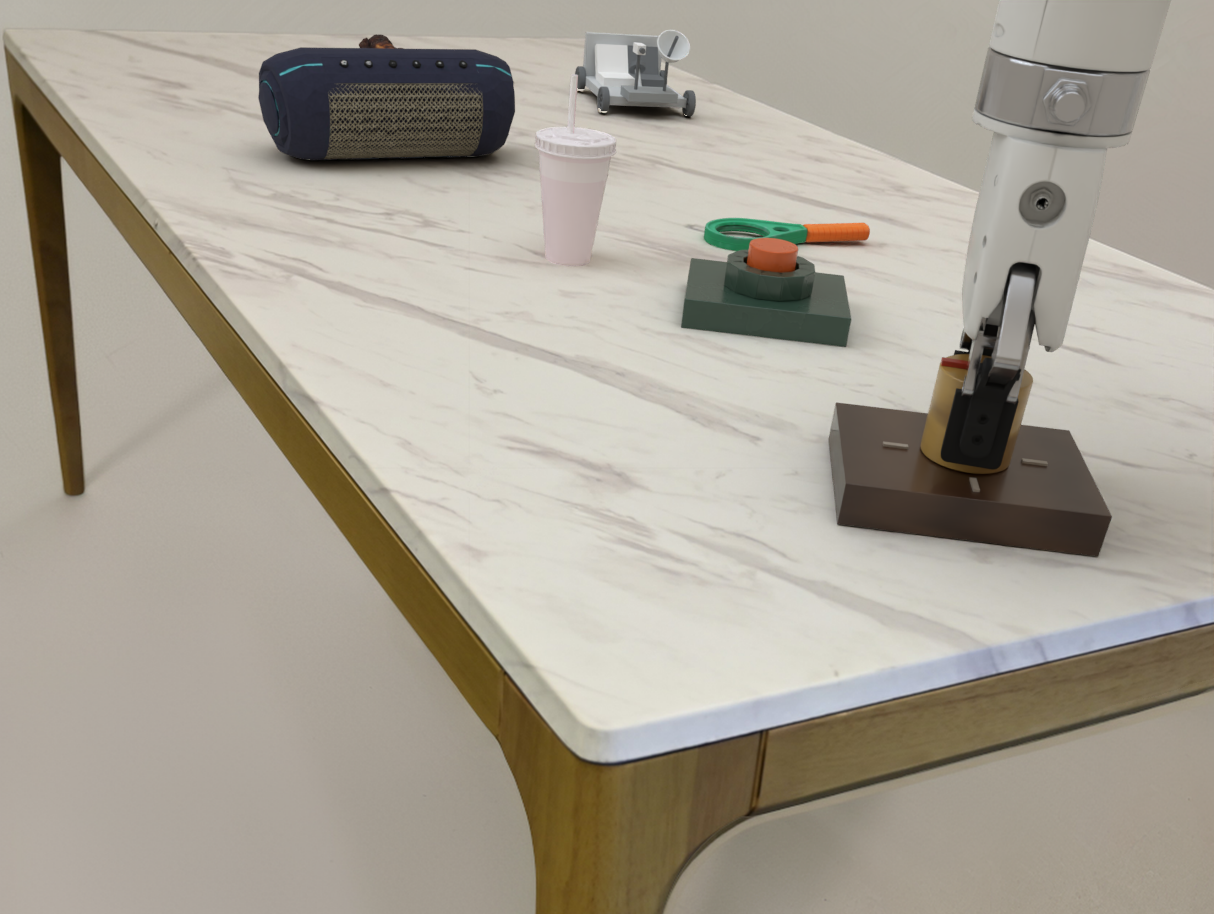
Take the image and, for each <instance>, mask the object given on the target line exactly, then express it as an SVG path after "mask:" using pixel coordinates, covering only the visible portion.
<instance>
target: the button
mask: <svg viewBox="0 0 1214 914" xmlns="http://www.w3.org/2000/svg"><path fill="white" fill-rule="evenodd" d="M756 238H757V239H753V240H751V241H750V244H749V251H748V258H747V265H749V266H750V267H753V268H756V269H760V270H763V271H771V272H779V273H781V272H793V271H795V266H796V260H797V256H798V254H799V246H798V245H797V244H793V243H791V242H788V241H785V240H781V239H775V238H758V237H756Z"/></svg>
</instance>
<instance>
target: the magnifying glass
mask: <svg viewBox="0 0 1214 914" xmlns="http://www.w3.org/2000/svg"><path fill="white" fill-rule="evenodd" d="M703 232H704V233H703V240H704V241H705V242H706V243H707V244H709V245H710V246H712V247H716V248H719V249H722V250H726V251H732V252H737V251H739V250H749V244H750V241H751V240H753V239H757V238H775V239H781V240H785V241H788V242H791V243H793V244H795V245H797V244H804V243H829V242H831V243H833V242H861V241H862V242H863V241H867V240H868V239H869V237H870V233H871V228H870V226H869V225H868V224H867V223H866V222H841V223H840V222H839V223H838V222H835V223H834V222H833V223H805V224H801V223H791V222H783V221H774V220H767V219H766V220H765V219H759V218H758V219H757V218H749V217H722V218H717V219H712V220H709V221H708V222H706V223H705V225H704V231H703ZM728 232H729V233H730V232H733V233H734V232H735V233H739V232H740V233H749V234H756V235H759V237H745V236H744V237H742V236H733V235H729V234H724V233H728Z"/></svg>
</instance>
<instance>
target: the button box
mask: <svg viewBox="0 0 1214 914" xmlns="http://www.w3.org/2000/svg"><path fill="white" fill-rule="evenodd" d="M748 251H749V250H739V251H733V252H731V253H729V254H728V255H727V259H726V261H722V260H713V259H705V258H696V257H691V258H690V263H689V269H688V275H687V281H686V287H685V293H684V300H683V308H682V316H681V324H680V327H681V329H689V330H698V331H706V332H713V333H723V334H732V335H739V336H748V337H755V338H756V337H757V338H764V339H774V340H782V341H790V342H799V343H807V344H815V345H824V346H825V345H826V346H833V347H841V348H846V347H847V344H848V338H849V333H850V330H851V329H850V328H851V324H852V314H851V309H850V308H851V307H850V303H849V297H848V291H847V286H846V285H847V284H846V280H845V276H844V275H843V274H842V275H841V274H835V273H834V274H833V273H824V272H818V271H817V272H816V266H815V264H814V263H812V262H811V261H810V260H809V259H808V260H807V259H806V258H804V257H803V256H799V255H797V260H796V266H795V271H793V272H781V273H779V272H771V271H763V270H760V269H756V268H753V267H750V266H749V265H747V258H748Z"/></svg>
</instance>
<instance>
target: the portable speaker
mask: <svg viewBox="0 0 1214 914" xmlns="http://www.w3.org/2000/svg"><path fill="white" fill-rule="evenodd" d="M257 99H258V103H259V107H260V112H261V115H262V120H263V123H264V124H265V127H266V129H267V131H268V133H269V136H270V137H271V139H272V141H273V143H274V144H275V147H276V149H277V150H278V151H279V152H280V153H282V154H285V155H286V156H287V155H288V156H289V157H292V158H294V157H296V158H295V159H297V158H301V159H300V160H304V159H310V160H309V161H338V160H337V159H356V160H380V159H379V158H401V159H426V158H425V157H447V158H468V157H467V156H478V157H482V156H486V155H492V154H494V153H495V152H496V151H498V150H500V149H501V148H502V147H504V146H505V144H506V141H507V139H508V137H509V135H510V130H511V128H512V127H511V126H512V124H513V120H514V118H515V117H514V116H515V113H516V93H515V87H514V78H513V75H512V70H511V68H510V65H509V63H507V62H506V61H505V60H504V59H502V58H500V57H499V56H497V55H494V54H491V53H488V52H484V51H482V50H478V49H474V48H472V49H471V48H469V49H468V48H467V49H466V48H464V49H463V48H404V49H393V48H360V47H297V48H292V49H289V50H286V51H282V52H278V53H275V54H274V55H272V56H270V57H269V58H266V59H265V60H263V61H262V62H261V66H260V68H259V71H258V97H257ZM465 156H466V157H465ZM423 157H424V158H423Z"/></svg>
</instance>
